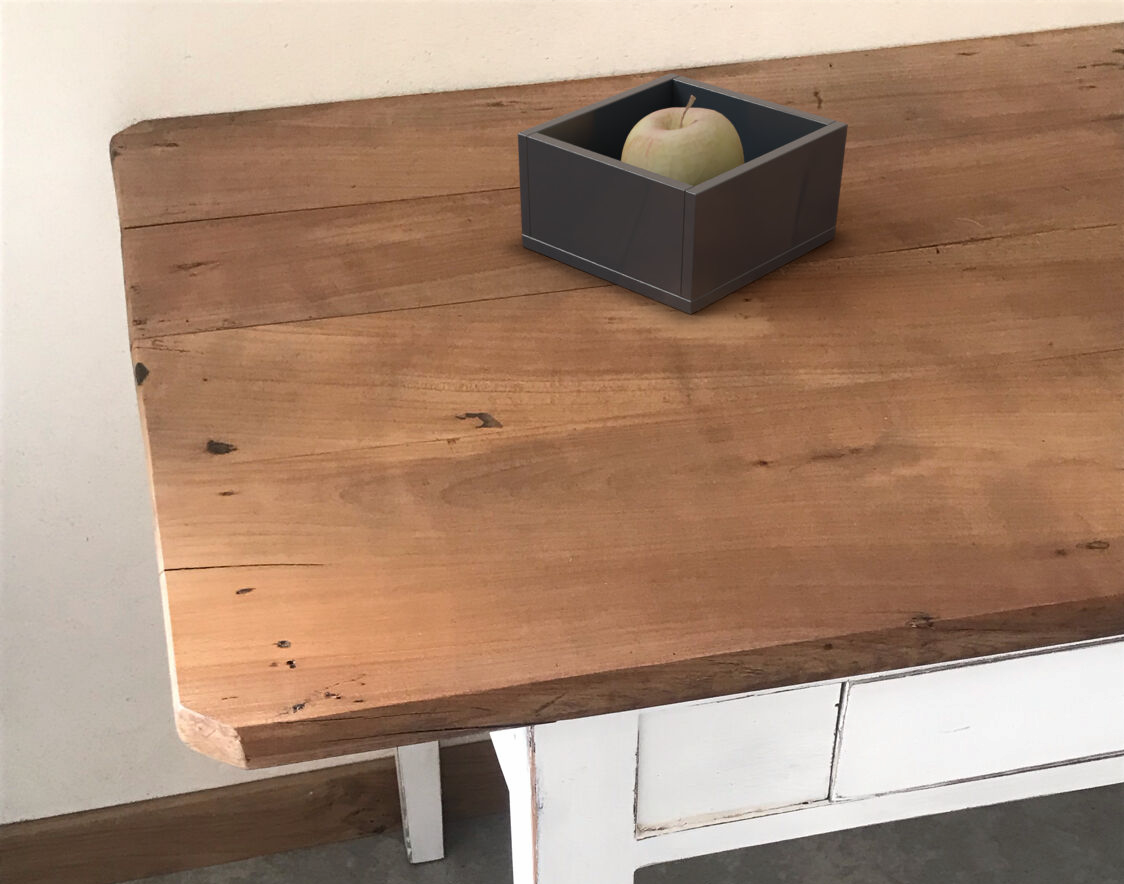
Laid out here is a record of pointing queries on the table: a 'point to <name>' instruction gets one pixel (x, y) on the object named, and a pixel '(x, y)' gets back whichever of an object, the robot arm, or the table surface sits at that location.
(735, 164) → the fruit
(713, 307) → the table surface
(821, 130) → the dark grey open box
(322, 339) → the table surface
